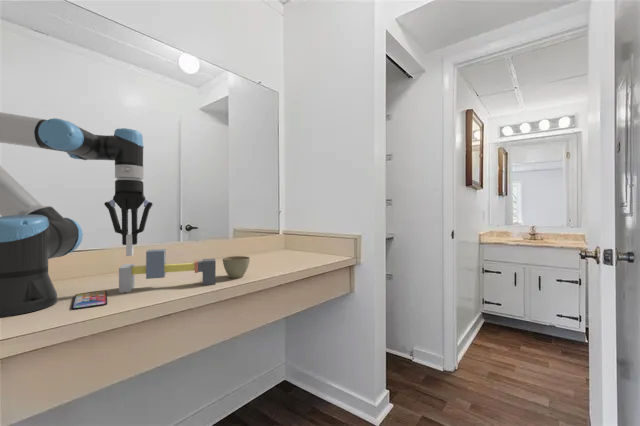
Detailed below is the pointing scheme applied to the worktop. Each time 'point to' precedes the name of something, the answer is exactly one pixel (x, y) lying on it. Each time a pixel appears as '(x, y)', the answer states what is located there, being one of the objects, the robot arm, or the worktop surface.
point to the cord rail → (130, 270)
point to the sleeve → (155, 263)
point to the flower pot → (236, 265)
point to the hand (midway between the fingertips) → (130, 255)
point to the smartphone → (89, 300)
